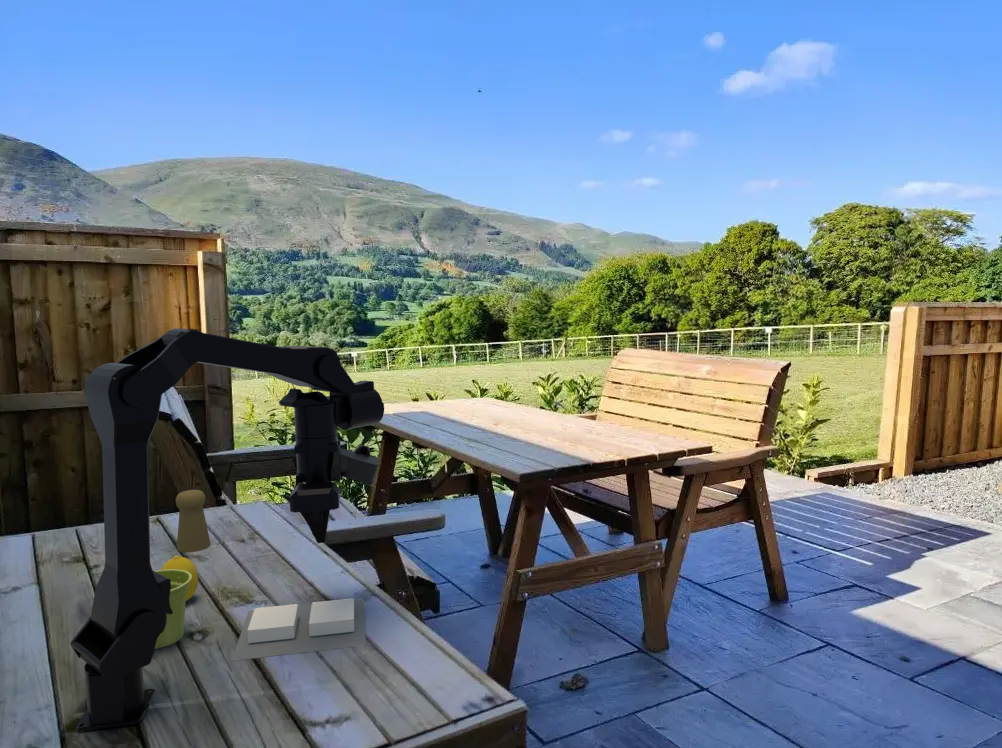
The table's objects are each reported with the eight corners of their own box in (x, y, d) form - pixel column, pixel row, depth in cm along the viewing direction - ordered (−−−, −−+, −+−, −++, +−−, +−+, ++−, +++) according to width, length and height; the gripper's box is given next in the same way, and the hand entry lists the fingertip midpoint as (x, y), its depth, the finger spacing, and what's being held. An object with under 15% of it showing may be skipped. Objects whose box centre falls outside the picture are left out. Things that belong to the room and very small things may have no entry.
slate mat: (365, 649, 93) (365, 645, 93) (231, 665, 90) (231, 660, 90) (364, 602, 108) (364, 598, 108) (249, 614, 104) (248, 610, 104)
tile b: (354, 611, 103) (354, 632, 96) (312, 615, 102) (309, 637, 95) (353, 598, 103) (353, 618, 96) (312, 602, 102) (308, 623, 95)
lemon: (184, 614, 105) (181, 563, 104) (152, 612, 106) (148, 561, 105) (207, 599, 110) (203, 550, 109) (176, 597, 111) (172, 548, 110)
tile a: (298, 617, 102) (294, 639, 95) (255, 621, 101) (248, 644, 94) (297, 603, 102) (293, 625, 95) (254, 608, 100) (247, 630, 93)
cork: (176, 544, 136) (172, 489, 135) (210, 539, 138) (206, 485, 137) (176, 554, 130) (172, 497, 129) (211, 549, 133) (207, 492, 132)
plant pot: (112, 664, 90) (106, 600, 90) (129, 631, 99) (125, 573, 99) (189, 653, 93) (185, 591, 92) (200, 622, 102) (196, 565, 101)
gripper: (375, 444, 91) (379, 560, 92) (373, 421, 109) (377, 518, 111) (286, 449, 89) (292, 568, 90) (299, 425, 107) (304, 523, 109)
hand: (321, 542), depth 100 cm, fingers closed
